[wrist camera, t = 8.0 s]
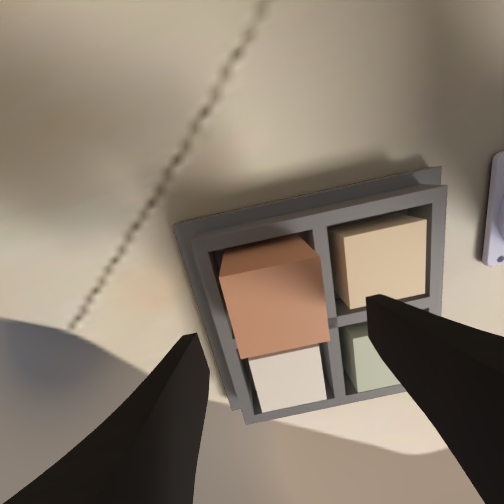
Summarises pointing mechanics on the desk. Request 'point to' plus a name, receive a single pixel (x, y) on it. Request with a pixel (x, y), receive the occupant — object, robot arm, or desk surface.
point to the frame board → (325, 286)
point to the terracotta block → (274, 295)
